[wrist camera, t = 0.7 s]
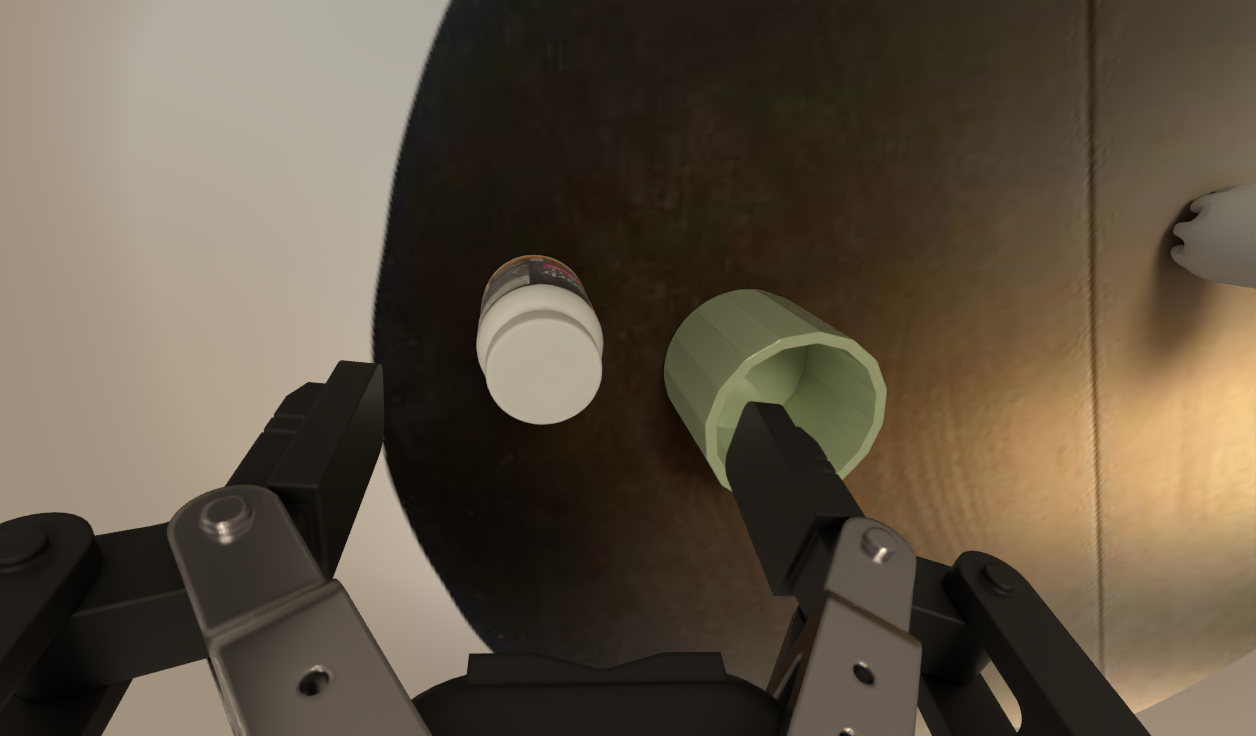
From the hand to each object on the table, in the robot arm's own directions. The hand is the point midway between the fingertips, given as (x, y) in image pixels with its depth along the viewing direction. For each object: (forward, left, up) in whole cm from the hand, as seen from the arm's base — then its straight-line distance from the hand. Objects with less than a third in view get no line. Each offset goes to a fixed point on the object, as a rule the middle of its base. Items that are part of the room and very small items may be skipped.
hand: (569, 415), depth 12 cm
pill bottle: (+3, 0, -20) cm, 20 cm away
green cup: (+9, +12, -19) cm, 24 cm away
